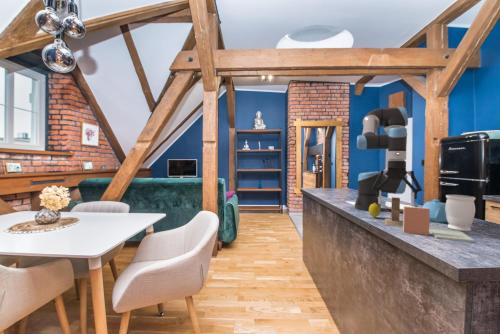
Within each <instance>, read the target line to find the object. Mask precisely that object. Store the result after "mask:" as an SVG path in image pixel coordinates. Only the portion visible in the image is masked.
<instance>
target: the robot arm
mask: <svg viewBox="0 0 500 334" xmlns="http://www.w3.org/2000/svg"><path fill="white" fill-rule="evenodd" d="M408 125H409V117H408V110H407V108H406V107H405V106H400V107H399V106H397V107H385V108H376V109H373V110H371V111H369V112H368V113H366V114H365V116H364V117H363V120H362V126H363V127H362V128H363V129H362V133H361V134H359V135H357V137H356V147H357V149H358V150H385V169H381V170H380V171H368V172H360V173H359V174H358V179H357V181H358V182H357V183H358V184H357V197H356V200H355V203H354V208H355V209H357V210H361V211H368V212H369V207H370V205H371V204H374V203H376V204H378V205H379V207H380V211H381V210H382V205H381V204H382V194H392V195H403V194H404V193H405V192H406V188H407V187H409V188H410V189H411V192H410V207H415V206H414V203H415V200H417V198H418V192H422V190H423V188H422V187H421V185H420V184H419V181H418V180H417V178H416V176H415V172H414V170H410V171H409V170H407V161H406V160H407V144H408V143H407V142H408V141H407V140H408V129H407V128H406V127H407V126H408ZM378 128H383V130H384V131H385V132H386V133H385V134H378ZM409 176H410V179H411V180H412V182H413V184H414V186H413V184H412V183H411V182H410V181H409V179H408V177H409Z"/></svg>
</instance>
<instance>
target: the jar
mask: <svg viewBox="0 0 500 334" xmlns="http://www.w3.org/2000/svg"><path fill="white" fill-rule="evenodd" d="M445 198H446V202H445V204H446V205H445V212H446V218H447V221H448V223H447V229H449V230H459V231H461V232H470V231H472V227H471V226H472V224H473V223H474V220H475V219H474V218H475V214H476V206H475V205H476V204H475V201H476V197H475V196H470V195H464V194H446V195H445Z"/></svg>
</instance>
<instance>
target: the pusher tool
mask: <svg viewBox="0 0 500 334" xmlns="http://www.w3.org/2000/svg"><path fill="white" fill-rule="evenodd" d="M400 209H401V198H400V197H393V196H391V210H390V212H391V214H390V215H391V216H390V218H391V219H390V218H385V219H384V223H385V226H389V227H390V226H392V227H401V228H403V220H402V219H400V214H401V213H400Z"/></svg>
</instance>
